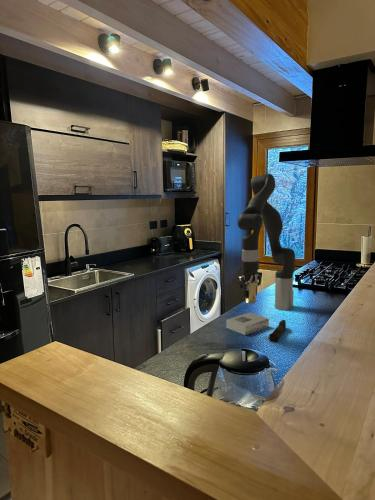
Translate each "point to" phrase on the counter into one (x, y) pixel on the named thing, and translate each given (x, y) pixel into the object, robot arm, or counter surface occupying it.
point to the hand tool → (278, 331)
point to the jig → (247, 323)
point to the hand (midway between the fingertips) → (250, 296)
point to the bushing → (251, 293)
